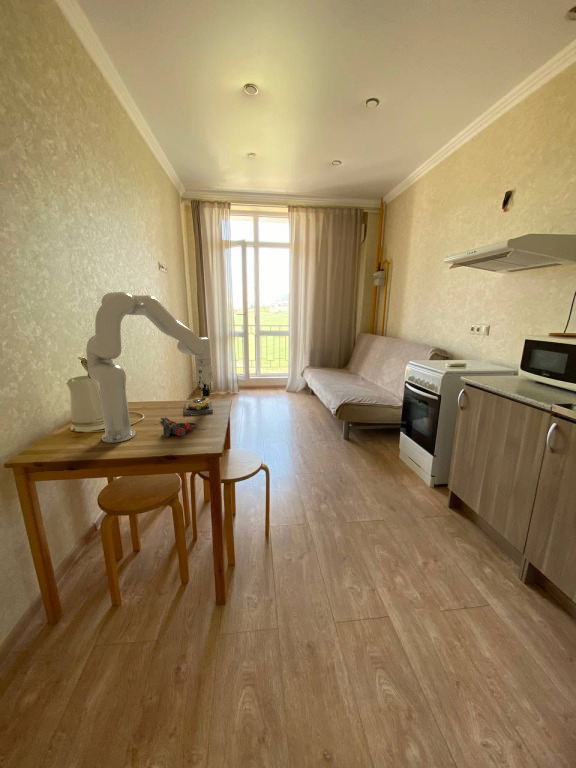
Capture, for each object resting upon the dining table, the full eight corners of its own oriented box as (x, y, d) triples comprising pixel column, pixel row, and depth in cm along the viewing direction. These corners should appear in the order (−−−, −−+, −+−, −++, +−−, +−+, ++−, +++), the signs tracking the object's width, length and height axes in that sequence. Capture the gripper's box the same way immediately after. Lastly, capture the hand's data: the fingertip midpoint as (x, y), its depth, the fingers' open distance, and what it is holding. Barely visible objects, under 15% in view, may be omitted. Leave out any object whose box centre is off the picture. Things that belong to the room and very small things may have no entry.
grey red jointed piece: (204, 437, 134) (169, 441, 124) (183, 422, 154) (151, 425, 144) (204, 423, 133) (169, 426, 123) (183, 410, 153) (152, 412, 143)
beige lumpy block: (210, 408, 158) (209, 396, 156) (186, 410, 154) (185, 398, 152) (209, 401, 169) (208, 389, 168) (186, 403, 166) (185, 391, 164)
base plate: (212, 413, 157) (212, 409, 157) (184, 415, 153) (184, 412, 153) (211, 404, 171) (210, 400, 171) (184, 406, 167) (184, 403, 167)
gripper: (204, 364, 148) (207, 400, 153) (215, 359, 162) (218, 392, 167) (190, 364, 149) (193, 400, 153) (202, 359, 163) (205, 391, 168)
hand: (206, 396), depth 160 cm, fingers closed
